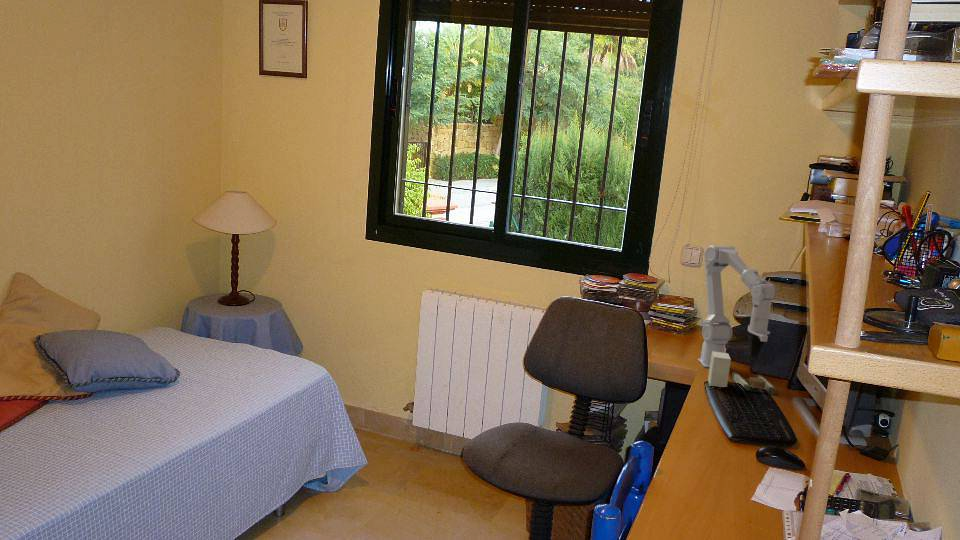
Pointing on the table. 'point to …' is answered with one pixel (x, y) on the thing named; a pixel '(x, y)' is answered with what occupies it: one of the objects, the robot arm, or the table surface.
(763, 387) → the walnut block
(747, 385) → the rail track
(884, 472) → the table surface
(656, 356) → the table surface
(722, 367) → the small box
